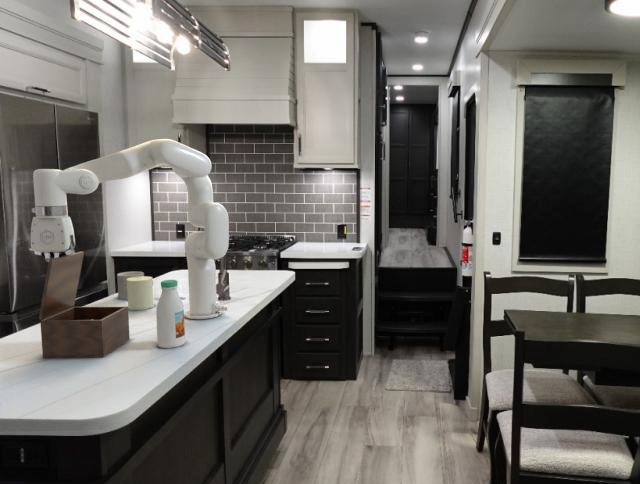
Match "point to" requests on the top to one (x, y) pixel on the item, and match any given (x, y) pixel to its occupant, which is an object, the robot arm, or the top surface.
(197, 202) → the robot arm
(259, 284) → the top surface
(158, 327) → the milk bottle
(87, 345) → the bin
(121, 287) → the coffee mug
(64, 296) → the bin lid
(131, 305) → the can
